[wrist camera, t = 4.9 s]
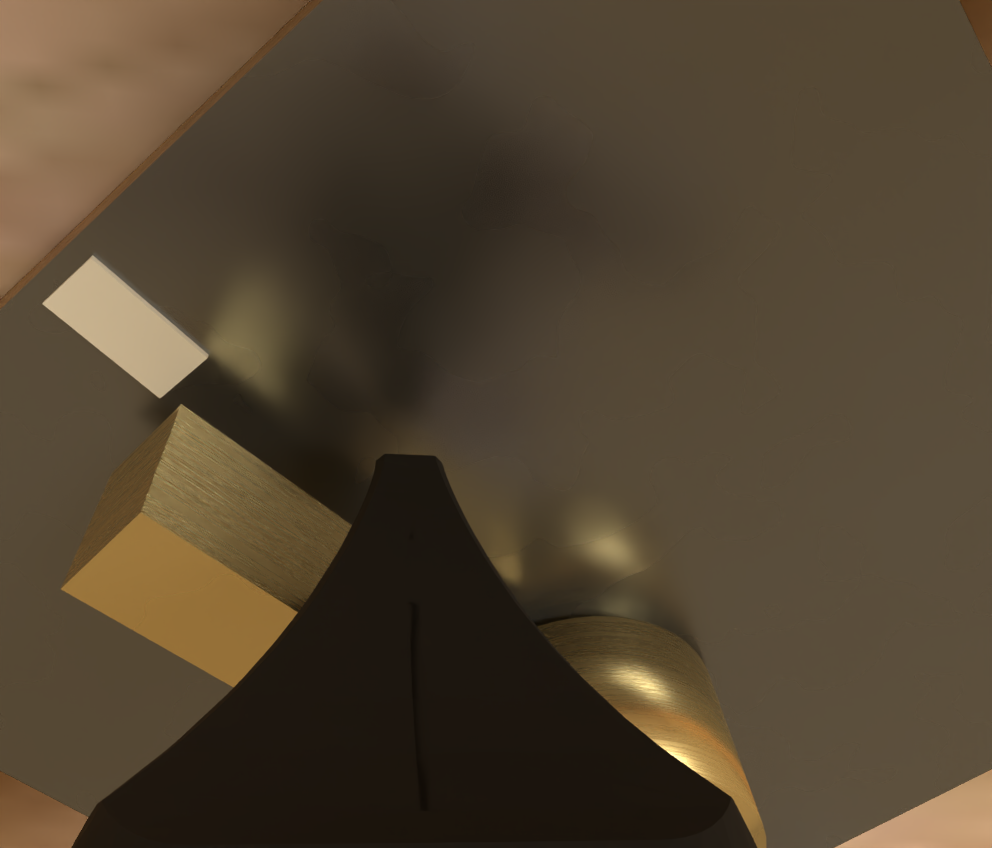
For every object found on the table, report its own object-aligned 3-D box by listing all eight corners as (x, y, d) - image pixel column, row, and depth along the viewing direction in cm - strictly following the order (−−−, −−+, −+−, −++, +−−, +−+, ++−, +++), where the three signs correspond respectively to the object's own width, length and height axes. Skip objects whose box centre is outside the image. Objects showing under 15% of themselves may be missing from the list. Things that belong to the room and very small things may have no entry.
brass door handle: (762, 703, 18) (824, 856, 16) (568, 826, 20) (594, 984, 17) (266, 304, 13) (232, 432, 10) (56, 516, 14) (-24, 674, 12)
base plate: (478, 963, 26) (487, 1093, 23) (-257, 547, 16) (-381, 685, 14) (1208, 582, 20) (1329, 697, 17) (717, -390, 11) (819, -458, 8)
